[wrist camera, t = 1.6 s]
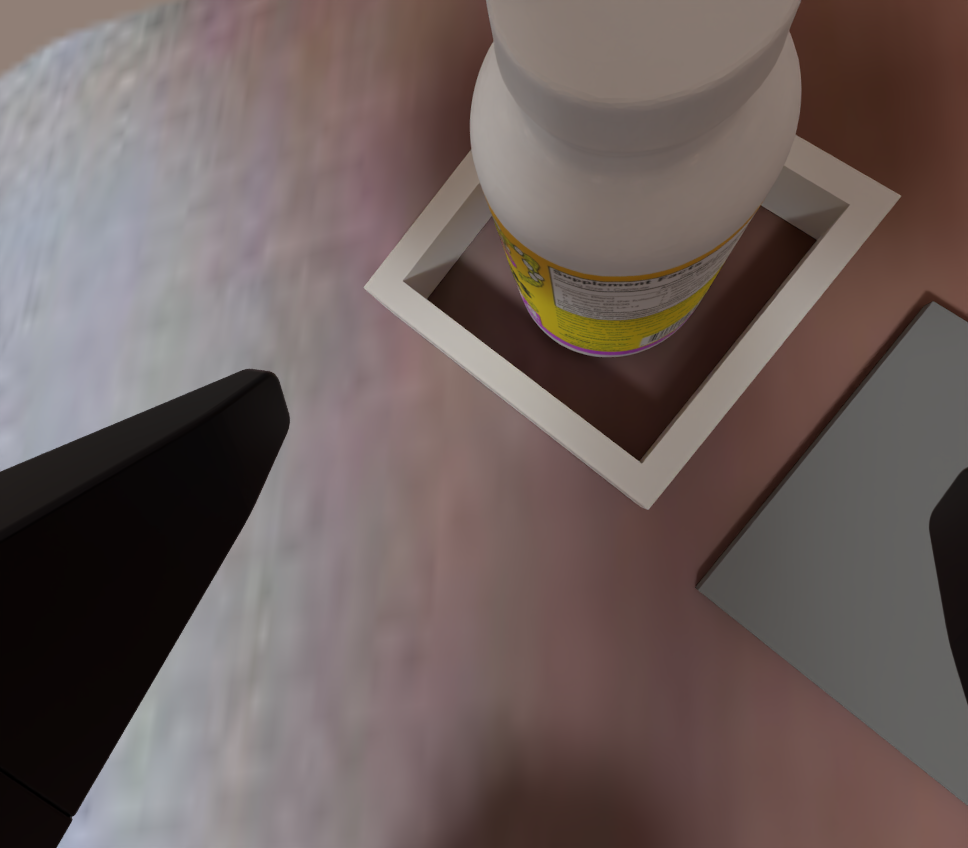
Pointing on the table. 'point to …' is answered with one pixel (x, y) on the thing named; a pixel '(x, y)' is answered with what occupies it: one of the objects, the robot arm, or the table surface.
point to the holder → (839, 233)
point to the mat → (869, 552)
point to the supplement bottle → (629, 153)
